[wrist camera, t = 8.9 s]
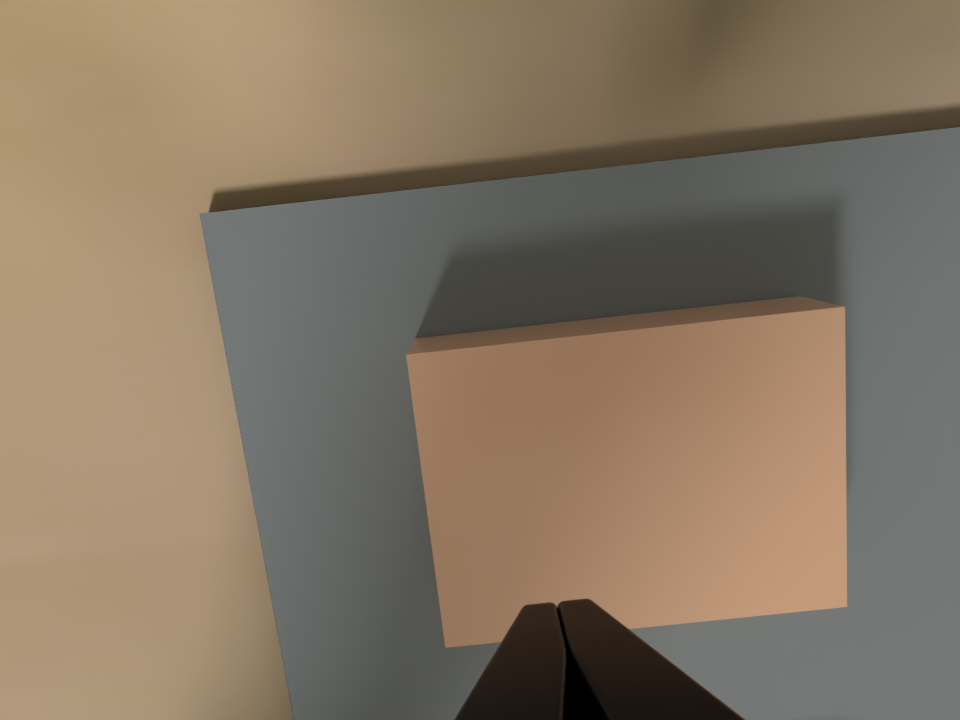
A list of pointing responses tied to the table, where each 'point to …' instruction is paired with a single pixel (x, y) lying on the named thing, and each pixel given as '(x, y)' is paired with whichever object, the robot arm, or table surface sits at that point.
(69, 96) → the table surface
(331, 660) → the slate mat
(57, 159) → the table surface
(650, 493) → the tile
